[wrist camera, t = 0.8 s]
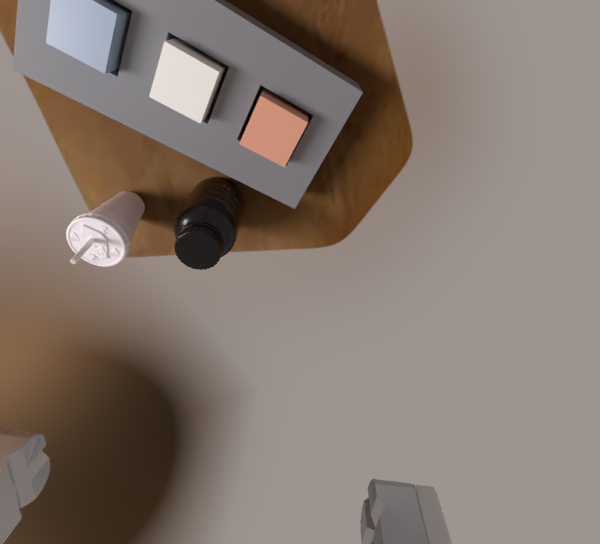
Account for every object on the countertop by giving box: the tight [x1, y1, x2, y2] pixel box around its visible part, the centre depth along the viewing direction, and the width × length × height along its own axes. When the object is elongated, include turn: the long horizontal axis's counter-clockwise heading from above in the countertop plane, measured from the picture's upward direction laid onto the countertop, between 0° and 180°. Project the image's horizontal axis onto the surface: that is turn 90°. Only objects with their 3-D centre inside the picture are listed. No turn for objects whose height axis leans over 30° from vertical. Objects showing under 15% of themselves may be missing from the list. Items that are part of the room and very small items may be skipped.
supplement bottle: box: [174, 178, 244, 270], centre depth 44 cm, size 7×7×12 cm
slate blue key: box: [46, 0, 132, 74], centre depth 34 cm, size 5×5×4 cm
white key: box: [149, 37, 228, 124], centre depth 36 cm, size 5×5×4 cm
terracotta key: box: [239, 87, 308, 167], centre depth 38 cm, size 5×5×4 cm
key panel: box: [13, 0, 363, 209], centre depth 38 cm, size 30×14×5 cm, turn 62°
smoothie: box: [66, 191, 145, 267], centre depth 43 cm, size 6×6×14 cm
